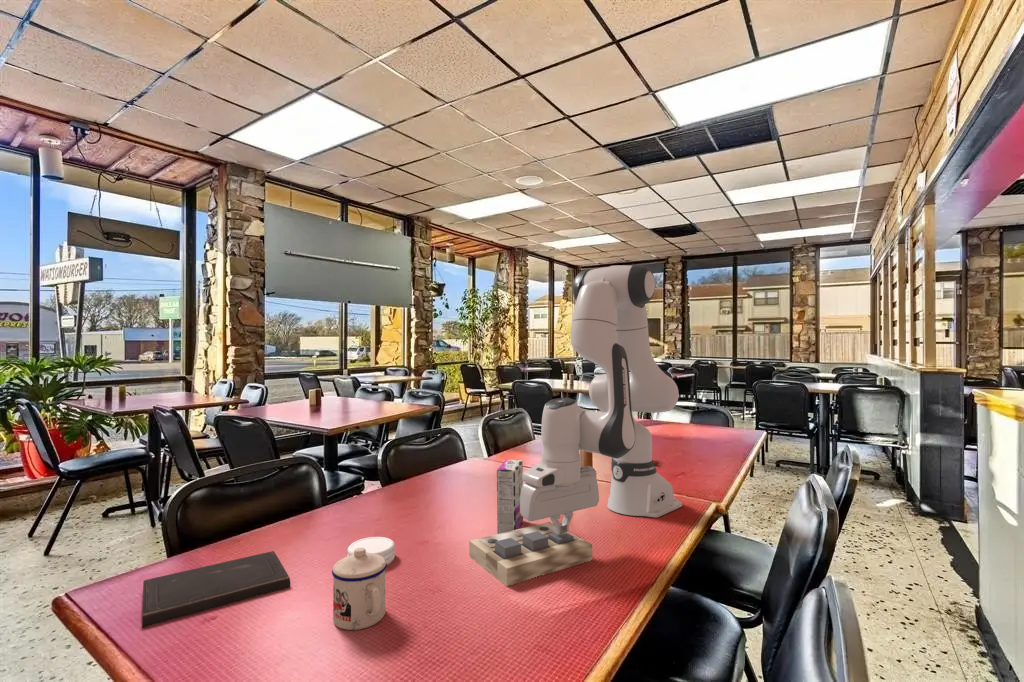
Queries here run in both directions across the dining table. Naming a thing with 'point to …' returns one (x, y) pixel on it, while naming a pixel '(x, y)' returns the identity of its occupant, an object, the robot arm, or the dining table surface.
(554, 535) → the button
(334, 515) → the dining table surface
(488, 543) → the button board
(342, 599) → the teacup with lid
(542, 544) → the middle button
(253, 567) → the hardcover book
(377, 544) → the white round disc stack
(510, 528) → the candy bar box
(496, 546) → the button
